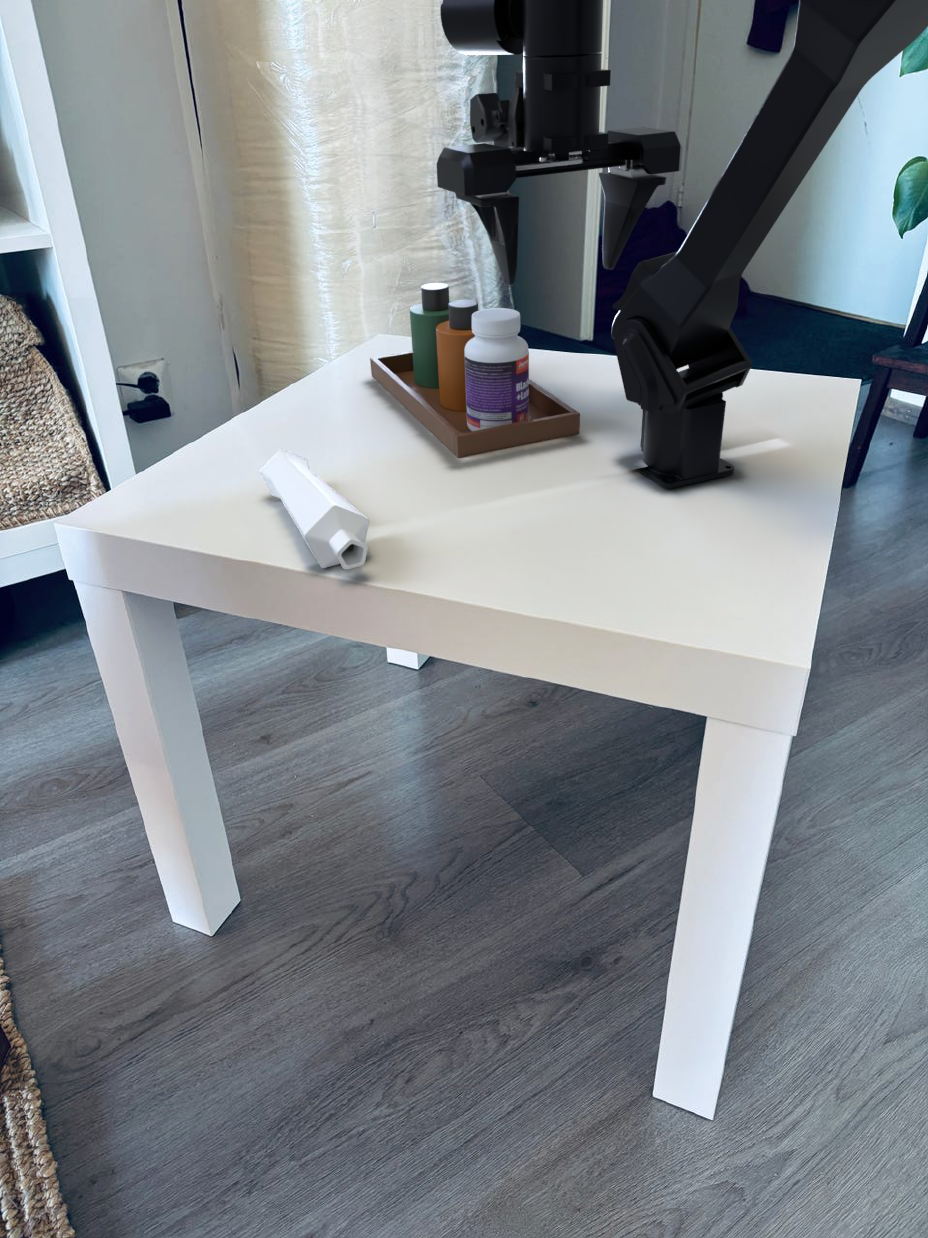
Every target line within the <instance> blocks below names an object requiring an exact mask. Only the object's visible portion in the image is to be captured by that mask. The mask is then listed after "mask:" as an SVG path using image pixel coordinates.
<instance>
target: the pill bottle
mask: <svg viewBox="0 0 928 1238" xmlns="http://www.w3.org/2000/svg"><path fill="white" fill-rule="evenodd" d="M521 327H522V326H521V313H520V312H519V311H518V310H516V309H512V308H505V307H492V308H491V307H490V308H483V309H478V311H476V312H474V313H473V314H472V332H473V334H475V337H474V338H472V339H470V340H469V341H468V342H467V344H466V346H465V380H466V410H467V425H468V428H469V429H470V430H471V431H477V430H482V429H487V428H492V427H497V426H503V425H508V424H513V423H518V422H523V421H529V379H530V351H529V345H528V342H527V341H526V340H525V339H524V338H523V337H521V336H519V335H518V334H519V333H520V332H521Z"/></svg>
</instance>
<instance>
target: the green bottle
mask: <svg viewBox="0 0 928 1238" xmlns="http://www.w3.org/2000/svg"><path fill="white" fill-rule="evenodd" d="M420 291H421V292H420V293H421V294H420V295H421V302H420V303H417V304H414V305H412V306H411V307H410V308H409V317H410V318H409V321H410V335H411V336H410V337H411V351H412V352H413V367H414V381H415V383H416V384H417V385H419V386H422V387H427V388H439V374H438V355H437V337H436V327H437V325H439V324H440V323H443V322H446V321H449V306H448V305H449V303H450V302H451V301H450V286H449V284H448V283H444V282H429V283H425V284H422V285H421V286H420Z"/></svg>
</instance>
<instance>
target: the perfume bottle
mask: <svg viewBox="0 0 928 1238" xmlns="http://www.w3.org/2000/svg"><path fill="white" fill-rule="evenodd" d="M258 472H259V475H260V476H261V479H262V480H263V482H264V483H265V485H266V488H267V489H268V491H269V493H270V494H271V495H272V496H273V497H275V498H278V499H280V501H281V503H282V504H283V505H284V508H285V509H286V512H287V513H288V514H289V516H290V517H291V519H292V521H293V523H294V524H295V526H296V527H297V530H298V531H299V533H300V534H301V536H302V538H303V539H304V541H305V543H306V545H307V547H308V548H309V550H310V551H311V553H312V555H313V556H314V558H315V560H316V562H318V565H319V567H320V568H322V569H326V568H330V567H334V566H338V565H340V566H341V568H342V569H344V570H350V569H354V568H359V567H361V566H363V565H364V564H365V563H366V558H367V554H368V550H369V547H368V544H366V541H367V535H368V531H369V526H370V519H369V518H368V517H367V516H366V515H365V514H363V513H362V512H361V511H360V510H358V508H356V507H355V506H353V505H352V504H351V503H350V502H349V501H348V500H346V499H345V498H344V497H343V496H342V495H341V494H340V493H338V492H337V491H336V490H334V488H332V487H331V486H330V485H329V484H327V482H325V481H324V480H323V479H322V478H321V477H319V476H318V475H317V474H316V473H314V472H313V471H312V470H311V469H310V464H309V460H308V459H307V458H306V457H303V456H301V455H299V454H297V453H294V452H292V451H289V450H287V449H285V448H278V450H277V451H276V452H275V453H274V454H273V455H272V456H271V457H270V458H269V459H268V460H267V462H265V463H264V465H262V467H261V468H260V469H259V471H258Z"/></svg>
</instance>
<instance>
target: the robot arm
mask: <svg viewBox="0 0 928 1238" xmlns="http://www.w3.org/2000/svg"><path fill="white" fill-rule="evenodd" d="M439 12H440V13H439V14H440V22H441V28H442V30H443V33H444V36H445V39H447V41H448V43H449V45H450V46H451V47H452V48H453V49H454V50H455V51H456V52H458V53H460V54H463V55H467V56H474V55H475V56H479V55H480V56H486V55H487V56H490V55H491V56H492V55H494V56H496V55H499V56H503V55H504V56H505V55H506V56H507V55H508V56H509V55H510V56H511V55H512V56H513V55H515V56H516V55H521V54H522V55H523V57H522V70H521V71H515V73H514V75H515V78H514V80H513V93H512V98H509V99H502V100H501V98H500V96H499V94H498V93H497V92H488V93H478V94H475V95H474V96H473V97H472V98H470V99H469V125H470V133H471V139H472V140H473V141H474V142H475V143H472V144H464V145H462V144H461V145H454V146H453V145H452V146H444V147H443V149H442V150H441V152H440V154H439V156H438V159H437V162H436V180H437V188H439V189H443V190H445V191H449V192H451V193H454V196H455V198H456V199H457V200H460V201H462V202H466V203H468V204H470V206H471V207H472V209H474V211H475V212H476V214H477V216H478V218H479V220H480V222H481V224H482V226H483V228H484V230H485V233H486V235H487V237H488V240H489V243H490V245H491V249H492V252H493V254H494V257H495V259H496V262H497V265H498V269H499V271H500V274H501V276H502V280H503V281H504V283H505V284H506V285H508V286H514V285H515V283H516V277H517V276H516V275H517V270H518V253H519V252H518V249H519V248H518V247H519V221H520V220H519V218H520V195H516V194H513V193H510V189H511V187H512V185H513V184H514V183H515V182H516V180H517V179H521V178H529V177H530V178H531V177H539V176H546V175H554V174H555V175H556V174H563V173H572V172H582V171H590V170H598V169H607V168H608V171H601V172H598V178H599V182H600V185H601V188H602V191H603V194H604V195H603V196H604V207H603V208H604V209H603V225H602V245H601V247H602V248H601V250H602V251H601V252H602V266H603V268H604V269H606V270H608V271H609V270H614V268H615V267H616V265H617V262H618V261H619V259H620V257H621V255H622V252H623V251H624V249H625V247H626V245H627V242H628V240H629V238H630V236H631V234H632V232H633V230H634V228H635V226H636V224H637V222H638V220H639V218H640V216H642V213H643V211H644V209H645V208H646V206H647V205H648V203H649V201H650V200H651V198H652V196H653V195H654V193H655V192H656V190H657V188H658V187H659V186H665V185H666V184H667V176H663V175H659V174H667V173H668V174H669V173H675V172H676V173H677V172H680V171H681V169H682V154H683V146H682V143H681V141H680V138H679V136H678V134H677V133H676V131H675V130H668V129H662V128H653V127H647V126H640V127H630V128H620V129H611V130H607V131H606V132H602V131H600V125H601V124H600V120H601V93H602V91H601V89H602V88H601V87H610V86H611V72H612V70H611V69H605V68H604V69H603V68H602V55H603V53H602V51H603V21H604V20H603V18H604V17H603V16H604V0H442V3H441V4H440V11H439ZM796 19H797V20H796V26H795V34H794V41H793V42H794V43H793V46H792V49H791V52H790V53H789V54H790V55H789V56H788V58H787V60H786V62H785V64H784V66H783V67H782V68H781V71H780V72H779V74H778V76H777V78H776V79H775V81H774V83H773V84H772V87H771V88H770V90H769V92H768V93H767V95H766V97H765V98H764V101H763V102H762V104H761V106H760V108H759V109H758V110H757V113H756V114H755V116H754V118H753V120H752V121H751V123H750V125H749V127H748V128H747V130H746V131H745V134H744V135H743V137H742V139H741V141H740V142H739V144H738V146H737V147H736V150H735V151H734V153H733V155H732V156H731V158H730V160H729V162H728V163H727V165H726V167H725V169H724V170H723V172H722V173H721V176H720V178H719V179H718V181H717V182H716V184H715V186H714V188H713V190H712V191H711V193H710V195H709V196H708V199H707V200H706V202H705V203H704V206H703V207H702V209H701V211H700V212H699V213H698V216H697V218H696V220H695V221H694V223H693V225H692V226H691V228H690V230H689V231H688V234H687V235H686V237H685V239H684V240H683V242H682V244H681V246H680V247H679V248H678V250H677V251H675V252H671V253H666V254H663V255H660V256H657V257H653V258H649V259H645V260H641V261H639V262H638V263H637V265H636V266H635V268H634V269H633V271H632V272H631V275H630V277H629V281H628V283H627V286H626V288H625V290H624V292H623V294H622V295H621V297H620V298H619V299H618V300H617V301H616V302H614V303H613V304H612V309H613V310H615V311H618V312H617V313H616V314H615V316H614V319H613V321H612V325H611V333H610V335H611V336H610V337H611V338H612V339H613V342H614V343H613V344H614V349H615V350H614V351H615V355H616V359H617V363H618V368H619V372H620V376H621V381H622V386H623V390H624V395H625V398H626V400H627V401H628V402H631V403H635V404H637V405H638V406H639V407H640V409H641V410H642V417H641V418H642V419H641V433H640V449H641V450H640V451H641V452H642V462H643V463H644V465H646V466H642V467H638V468H636V470H637V471H638V472H640V473H642V474H643V475H644V476H645V477H647V478H648V479H650V480H651V481H652V482H654V483H655V484H657V485H658V486H660V487H661V488H663V489H669V490H670V489H675V488H678V487H679V488H680V487H683V486H687V485H692V484H696V483H700V482H705V481H709V480H713V479H718V478H723V477H727V476H731V475H734V474H735V472H736V471H735V470H736V467H735V466H734V465H732V464H731V463H729V462H728V461H726V460H724V459H723V458H721V449H722V442H723V432H724V424H725V415H726V406H727V401H726V400H725V399H724V393H725V392H727V391H729V390H732V389H734V388H739V387H741V386H743V385H744V383H745V382H746V381H745V380H746V379H747V377H748V375H749V373H750V370H751V368H752V365H753V363H752V361H751V359H750V357H749V356H748V354H747V353H746V351H745V349H744V347H743V346H742V343H740V341H739V339H738V338H737V336H736V334H735V333H734V332H733V329H732V328H731V324H732V321H733V319H734V317H735V315H736V313H737V310H738V305H739V304H738V303H739V293H740V292H739V290H740V281H741V278H742V275H743V274H744V271H746V268H747V267H748V265H749V264H750V262H751V261H752V259H753V258H754V256H755V255H756V253H757V251H758V250H759V248H760V247H761V245H762V244H763V243H764V241H765V239H766V238H767V236H768V234H769V233H770V232H771V230H772V229H773V227H774V225H776V222H777V221H778V219H779V217H780V216H781V215H782V213H783V211H784V210H785V208H786V206H787V205H788V204H789V202H790V201H791V199H792V197H793V196H794V194H795V192H796V191H797V190H798V189H799V186H800V185H801V184H802V182H803V181H804V179H805V178H806V176H807V174H808V173H809V171H811V168H812V166H813V165H814V163H815V162H816V160H817V159H818V158H819V155H820V154H821V153H822V152H823V150H824V148H825V147H826V145H827V144H828V142H829V140H830V139H831V137H832V136H833V134H834V133H835V131H836V129H837V128H838V126H839V125H840V123H841V122H842V120H843V119H844V117H845V116H846V114H847V113H848V111H849V109H850V108H851V106H852V105H853V104H854V102H855V100H856V99H857V98H858V96H859V94H860V92H861V91H862V89H863V88H864V87H865V85H866V84H868V82H869V81H870V80H871V79H872V78H873V77H874V76H875V75H876V74H877V73H879V72H880V71H881V70H882V69H884V68H885V67H886V66H887V65H888V64H890V63H891V61H893V60H894V59H895V58H896V57H897V56H899V54H901V53H902V52H903V51H904V50H906V49H907V48H908V47H909V46H910V45H911V44H912V43H913V42H915V41H916V40H917V39H918V38H919V37H920V36H921V35H922V34H923V33H924V31H925V30H926V29H928V0H798V9H797V18H796ZM491 142H492V144H490V143H491ZM684 367H688V368H685V369H682V370H680V371H678V370H679V369H681V368H684Z"/></svg>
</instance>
